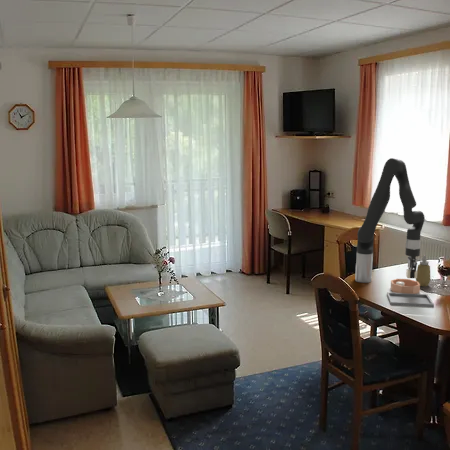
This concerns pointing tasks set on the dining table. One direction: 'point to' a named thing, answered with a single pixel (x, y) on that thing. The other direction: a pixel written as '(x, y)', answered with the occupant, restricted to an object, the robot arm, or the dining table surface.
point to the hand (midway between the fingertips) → (411, 276)
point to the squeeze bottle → (423, 272)
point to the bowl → (405, 286)
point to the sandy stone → (409, 273)
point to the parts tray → (410, 299)
